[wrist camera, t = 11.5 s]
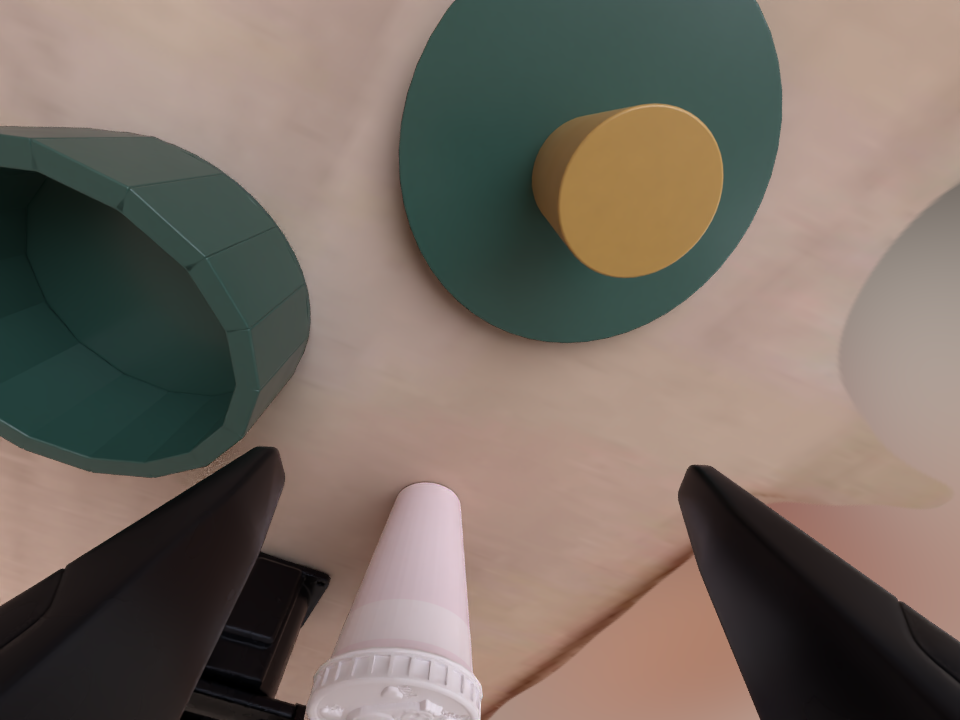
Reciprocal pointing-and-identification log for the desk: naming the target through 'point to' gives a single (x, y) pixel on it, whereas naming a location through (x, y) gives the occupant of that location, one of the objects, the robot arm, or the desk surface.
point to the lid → (587, 155)
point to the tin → (137, 302)
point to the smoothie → (406, 623)
